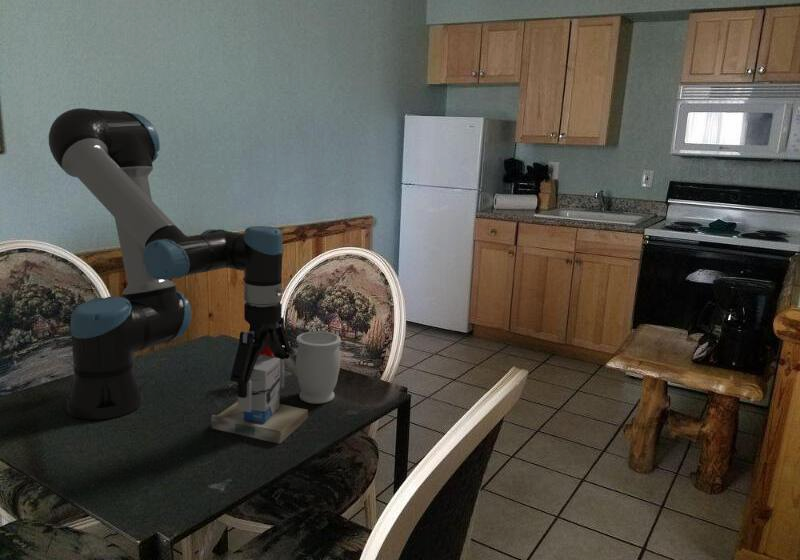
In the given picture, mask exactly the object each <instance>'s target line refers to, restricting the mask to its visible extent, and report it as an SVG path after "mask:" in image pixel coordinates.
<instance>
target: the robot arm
mask: <svg viewBox="0 0 800 560" xmlns="http://www.w3.org/2000/svg"><path fill="white" fill-rule="evenodd" d="M48 132H49V133H48V146H49V150H50V153H51V155H52V157H53V159H54V161H55V162H56V163H57V164H58V166H60V168H61V169H62V170H63V171H64V172H65V173H66V175H68V176H71V177H73V178H77V179H78V180H79V181H80V182H81V183H82V184H83V186H85V187H86V188H87V190H89V192H90V193H91V194H92V195H93V196H94V197H95V198H96V199H97V200H98V201H99V202H100V203H101V205H103V206H104V207H105V209H106V210H107V211H108V212H109V213H110V215H111V216H112V217H114V221H115V222H114V223H115V227H116V232H117V237H118V240H119V246H120V251H121V256H122V261H123V266H124V271H125V275H126V276H125V278H126V281H127V285H126V287H125V288H124V290H123V291H122V297H121V296H107V297H99V298H94V299H90V300H87V301H85V302H82V303H81V304H79V305H77V306H76V307H75V308H74V310H73V311H72V313H71V315H70V316H71V317H70V329H69V331H70V335H71V347H72V348H71V349H72V350H71V351H72V363H73V379H72V382H71V385H70V389H69V394H68V395H67V398H66V411H67V413H68V414H69V415H70V416H71V417H74V418H76V419H80V420H81V419H82V420H89V421H90V420H94V421H97V420H106V419H107V420H108V419H113V418H114V419H115V418H118V417H121V416H125V415H127V414H129V413H132V412H134V411H136V410H137V409H139V408H140V407H141V405H143V402H144V395H143V394H144V393H143V389H142V387H141V386H140V384H139V381H138V377H137V375H136V372H135V369H134V360H133V359H134V354H135V353H137V352H141V351H144V350H147V349H149V348H153V347H155V346H160V345H163V344H164V345H165V344H168V343H170V342H173V341H174V340H176V339H179V338H181V337H182V336H184V334H185V333H187V330H188V329H189V327H190V325H191V321H192V307H191V305H190V302H189V300H188V298H186V296H185V294H184V293H183V292H181V291H178V290H177V288H176V284H175V282H173V281H171V280H174V279H176V280H177V279H181V278H183V277H186V276H187V277H188V276H191V275H196V274H201V273H207V272H211V271H216V270H217V271H218V270H220V269H222V270H223V269H232V270H233V269H234V270H237V271H238V270H239V271H243V272H244V273H243V274H244V276H243V277H244V278H243V279H244V285H243V287H244V290H243V293H244V295H243V296H244V297H243V299H244V301H245V303H244V305H243V306H244V307H243V308H244V309H243V311H244V313H243V316H244V317H243V319H244V321H245V322H246V323H247V324H248V325H249V329H248V331H240V333H239V341H238V346H237V352H236V354H235V358H234V363H233V367H232V371H231V374H230V378H229V380H230V382H235V383H237V402H238V410H241V411H245V412H251V411H252V381H249V379H250V377H251V374H252V371H253V369H254V366H255V363H256V361H257V358H258V355H259V353H260V352H262V351H263V348H264V347H265V346H266V345H268V346H269V348H270V349H271V351H272V353H273V354H274V356H273V357H275V358H280V388H281V389H283V388H284V387H285V359H286V360H287V359H288V360H289V358H290V357H291V356H290V355H291V354H290V353H291V347H290V343H289V339H288V335H287V332H286V328H285V319H284V316H283V317H282V307H283V306H282V303H281V301H282V294H283V292H284V291H283V288H282V286H283V285H282V282H283V277H282V275H283V274H282V272H283V257H284V256H283V255H284V245H283V244H284V243H283V233H282V230H281V229H279V228H278V227H275V226H265V225H253V226H248V227H246V228H245V229H244V233H239V232H235V231H227V230H225V229H221V228H219V229H215V228H214V229H212V228H209V229H205V230H204V231H203V232H202V233H200V234H195V235H186V234H185V233H184V232H183V231H182V230H181V229H180V228H179V227H178V226H177V225H176V224H175V223H174V222H173V221H172V220H171V219H170V218H169V217H168V216H167V215H166V214H165V212H164V211H163V210H162V209H161V208H160V207H159V206H158V205H157V204H156V203H155V202H154V201H153V198H152V193H151V188H150V182H149V175H150V174H151V172H152V171H154V167H153V163H154V162H155V161H156V160H157V158H158V156H159V153H158V152H159V151H160V149H161V148H160V147H161V145H160V137H159V134H158V132H157V129H156V127H155V126H154V124H153V123H152V122H151V120H148V119H147V118H146V117H145V116H143V115H141V114H139V113H134V112H129V111H125V110H122V111H121V110H120V111H119V110H118V111H117V110H105V109H104V110H102V109H90V108H82V107H79V108H73V109H69V110H66V111H64V112H63V113H61V114H60V115H59V116H57V117H56V119H55V120H54V121H53V122H52V125H51V126H50V129H49V131H48ZM253 345H254V346H253ZM280 388H279V389H280Z"/></svg>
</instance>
